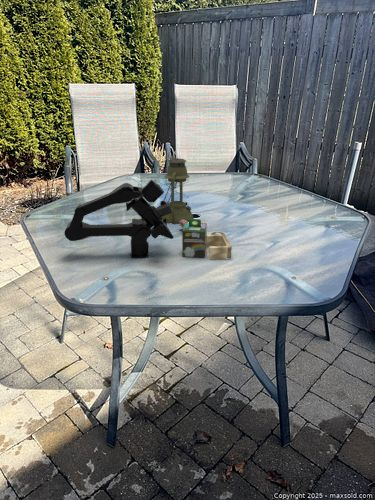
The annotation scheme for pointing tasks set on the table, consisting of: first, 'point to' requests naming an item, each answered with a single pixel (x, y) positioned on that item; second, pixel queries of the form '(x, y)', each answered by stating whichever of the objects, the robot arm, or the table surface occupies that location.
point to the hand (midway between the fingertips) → (172, 238)
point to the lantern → (179, 208)
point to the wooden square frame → (218, 246)
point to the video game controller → (182, 222)
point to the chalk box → (194, 239)
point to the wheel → (216, 233)
